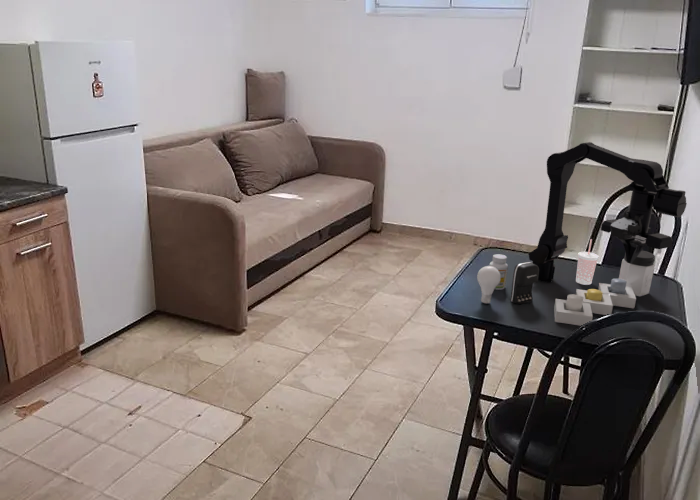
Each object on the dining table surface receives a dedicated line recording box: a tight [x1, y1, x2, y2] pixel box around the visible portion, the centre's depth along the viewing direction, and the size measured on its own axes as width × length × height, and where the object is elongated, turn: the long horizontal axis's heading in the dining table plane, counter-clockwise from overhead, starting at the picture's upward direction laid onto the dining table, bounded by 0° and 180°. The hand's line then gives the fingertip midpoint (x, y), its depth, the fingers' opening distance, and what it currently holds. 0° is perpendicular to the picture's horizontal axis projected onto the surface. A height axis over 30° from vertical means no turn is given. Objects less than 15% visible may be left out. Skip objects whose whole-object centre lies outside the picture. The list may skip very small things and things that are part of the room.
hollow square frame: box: [574, 288, 614, 316], centre depth 174 cm, size 9×9×3 cm
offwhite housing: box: [553, 298, 593, 327], centre depth 167 cm, size 9×9×3 cm
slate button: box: [609, 278, 627, 294], centre depth 179 cm, size 4×4×4 cm
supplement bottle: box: [488, 253, 509, 291], centre depth 184 cm, size 5×5×10 cm
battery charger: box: [509, 261, 539, 305], centre depth 174 cm, size 7×4×11 cm, turn 120°
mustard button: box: [586, 288, 603, 301], centre depth 174 cm, size 4×4×4 cm
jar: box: [618, 249, 656, 297], centre depth 186 cm, size 9×8×12 cm
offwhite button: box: [565, 293, 583, 312], centre depth 166 cm, size 4×4×4 cm
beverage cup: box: [575, 238, 600, 286], centre depth 191 cm, size 6×6×14 cm
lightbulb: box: [476, 265, 501, 305], centre depth 172 cm, size 6×6×11 cm
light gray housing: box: [597, 282, 637, 309], centre depth 180 cm, size 9×9×3 cm
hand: (629, 263), depth 172 cm, fingers closed
